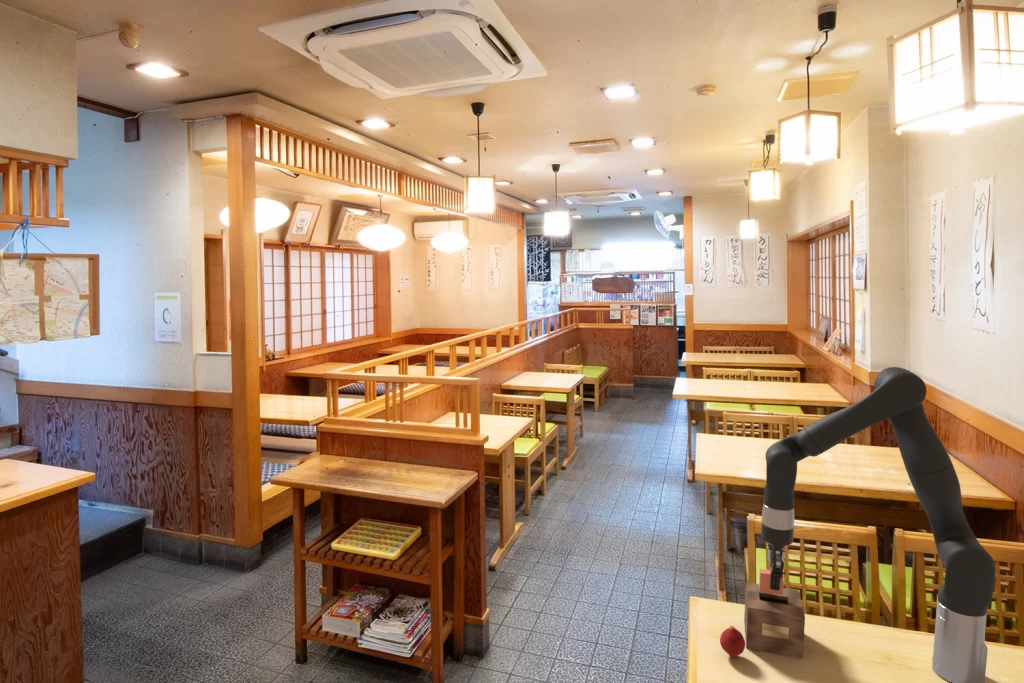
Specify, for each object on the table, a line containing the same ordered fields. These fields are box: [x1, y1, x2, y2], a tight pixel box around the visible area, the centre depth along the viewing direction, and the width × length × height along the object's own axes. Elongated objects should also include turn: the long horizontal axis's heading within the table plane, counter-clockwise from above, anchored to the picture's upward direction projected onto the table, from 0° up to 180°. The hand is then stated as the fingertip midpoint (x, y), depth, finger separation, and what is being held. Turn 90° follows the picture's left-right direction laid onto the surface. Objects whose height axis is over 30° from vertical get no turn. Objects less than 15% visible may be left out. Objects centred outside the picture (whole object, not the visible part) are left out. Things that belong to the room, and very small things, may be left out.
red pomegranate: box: [719, 625, 746, 658], centre depth 146 cm, size 6×6×8 cm
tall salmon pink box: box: [758, 568, 785, 595], centre depth 152 cm, size 5×2×6 cm
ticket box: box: [743, 581, 806, 660], centre depth 153 cm, size 13×13×11 cm
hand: (774, 586), depth 152 cm, fingers closed on tall salmon pink box, 2 cm apart
